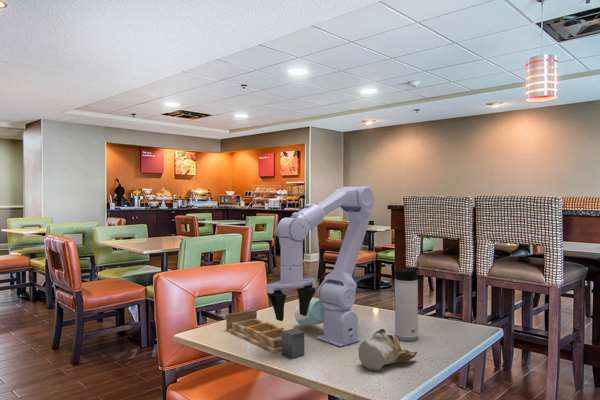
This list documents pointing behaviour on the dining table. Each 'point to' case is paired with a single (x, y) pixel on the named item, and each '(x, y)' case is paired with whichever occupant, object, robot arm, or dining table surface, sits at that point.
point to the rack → (255, 330)
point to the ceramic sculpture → (382, 351)
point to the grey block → (293, 343)
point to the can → (311, 314)
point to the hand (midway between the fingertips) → (291, 317)
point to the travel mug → (406, 304)
